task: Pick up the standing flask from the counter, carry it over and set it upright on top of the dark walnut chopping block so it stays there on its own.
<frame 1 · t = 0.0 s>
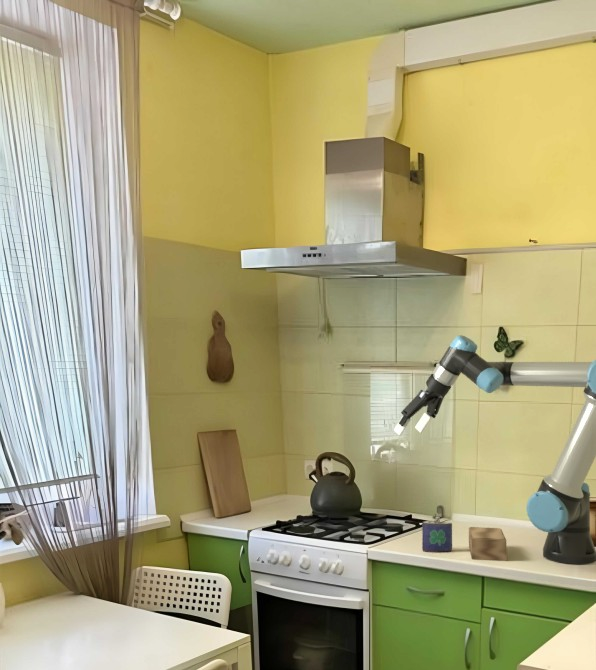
hand: (407, 431, 247), 36 cm above the table, tool tilted 35°, fingers open, 13 cm apart
flask: (437, 552, 233), on the table
walnut block: (487, 553, 231), on the table
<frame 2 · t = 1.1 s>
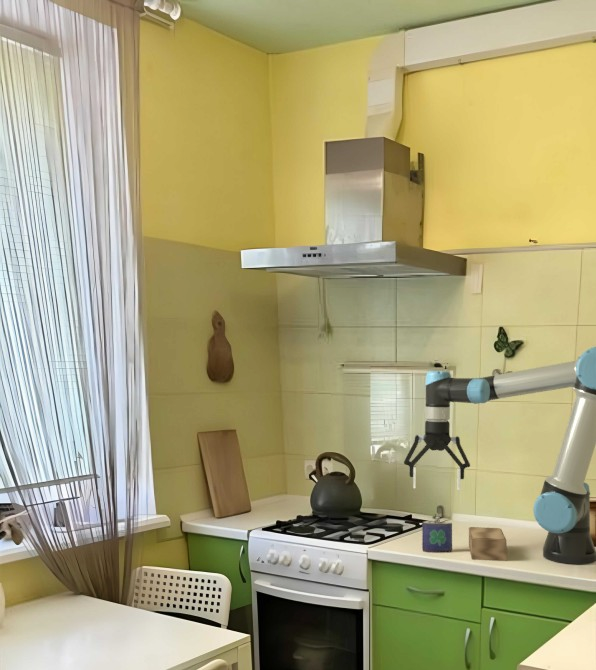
hand: (436, 488, 235), 19 cm above the table, tool pointing down, fingers open, 13 cm apart
nothing on the table moved.
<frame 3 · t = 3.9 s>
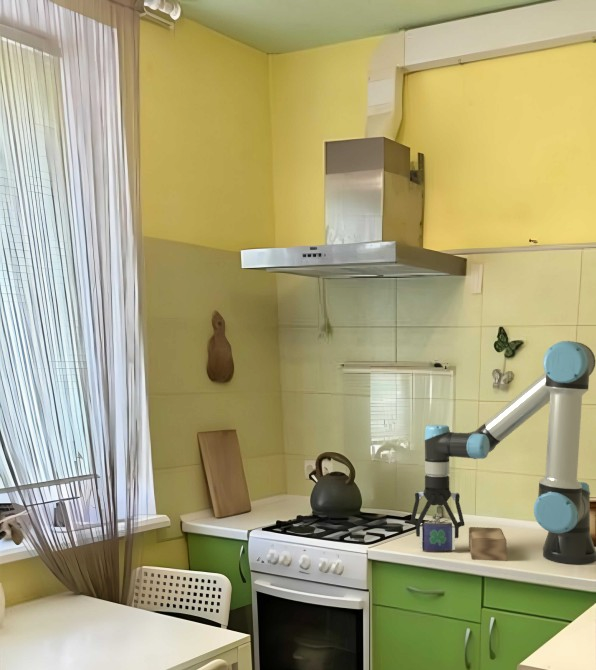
hand: (437, 547, 233), 1 cm above the table, tool pointing down, fingers closed on flask, 9 cm apart
flask: (437, 551, 233), on the table, touching gripper
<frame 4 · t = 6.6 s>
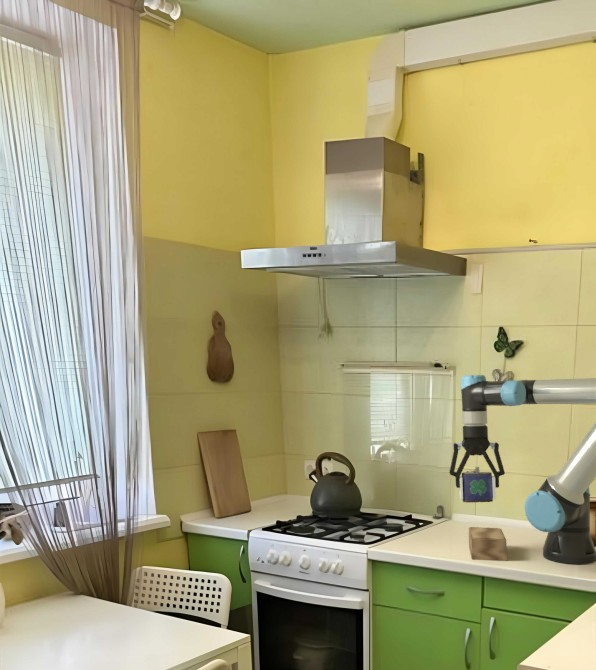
hand: (477, 498, 231), 17 cm above the table, tool pointing down, fingers closed on flask, 9 cm apart
flask: (477, 502, 231), point 16 cm above the table, touching gripper
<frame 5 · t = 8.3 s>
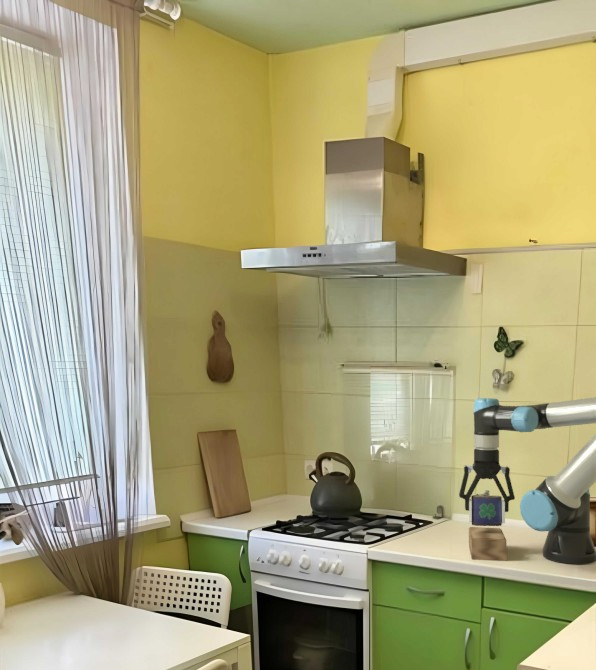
hand: (486, 521, 231), 10 cm above the table, tool pointing down, fingers closed on flask, 9 cm apart
flask: (486, 525, 231), point 8 cm above the table, touching gripper
when the fingers open (9 cm above the table, at t = 9.4 s): flask drops 1 cm, resting on walnut block.
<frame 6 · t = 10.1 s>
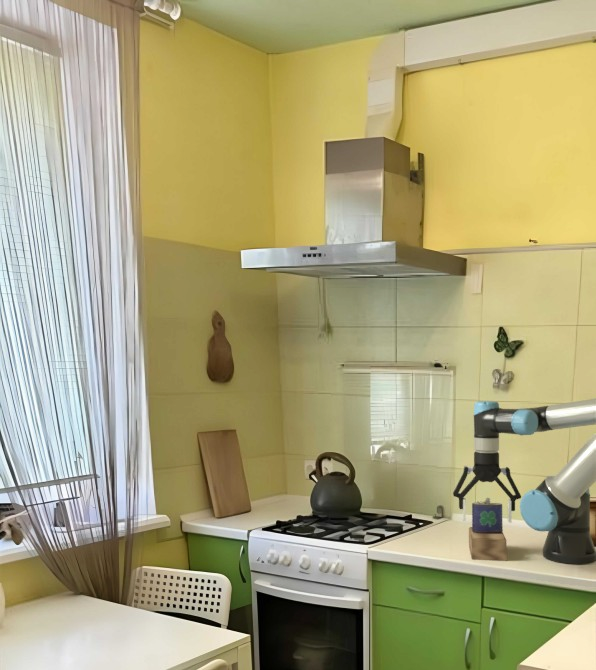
hand: (486, 520, 231), 10 cm above the table, tool pointing down, fingers open, 13 cm apart
flask: (487, 533, 231), point 6 cm above the table, touching walnut block
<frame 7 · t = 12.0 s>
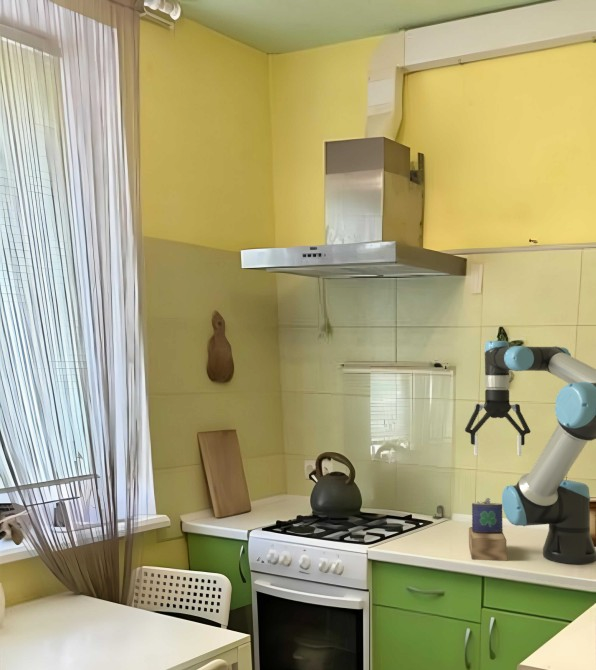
hand: (497, 455, 241), 29 cm above the table, tool pointing down, fingers open, 13 cm apart
nothing on the table moved.
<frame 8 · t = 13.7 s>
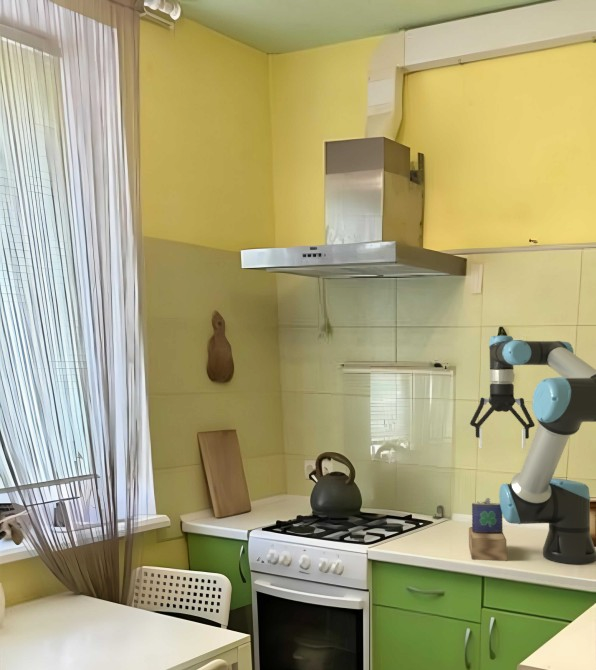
hand: (502, 448, 245), 31 cm above the table, tool pointing down, fingers open, 13 cm apart
nothing on the table moved.
at the end: flask inside the target area on the walnut block (0.2 cm from its centre), point 6.1 cm above the walnut block's base; flask tilted 0°; flask touching walnut block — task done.
